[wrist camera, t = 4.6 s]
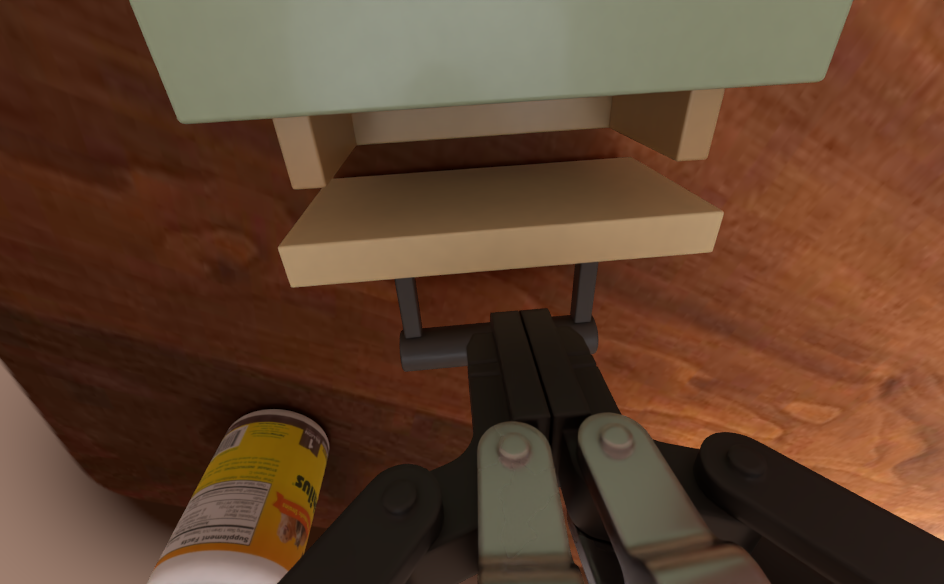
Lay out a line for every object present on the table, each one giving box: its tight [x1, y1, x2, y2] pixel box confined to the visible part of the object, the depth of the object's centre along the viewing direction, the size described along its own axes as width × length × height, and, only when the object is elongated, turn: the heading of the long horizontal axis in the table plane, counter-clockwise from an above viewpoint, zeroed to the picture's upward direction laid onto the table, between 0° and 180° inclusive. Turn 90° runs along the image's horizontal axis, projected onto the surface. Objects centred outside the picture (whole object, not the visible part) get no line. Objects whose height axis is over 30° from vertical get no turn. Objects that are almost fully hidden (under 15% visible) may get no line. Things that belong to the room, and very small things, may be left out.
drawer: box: [272, 88, 725, 371], centre depth 11 cm, size 18×11×6 cm, turn 3°
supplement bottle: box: [147, 409, 329, 584], centre depth 19 cm, size 6×6×10 cm
